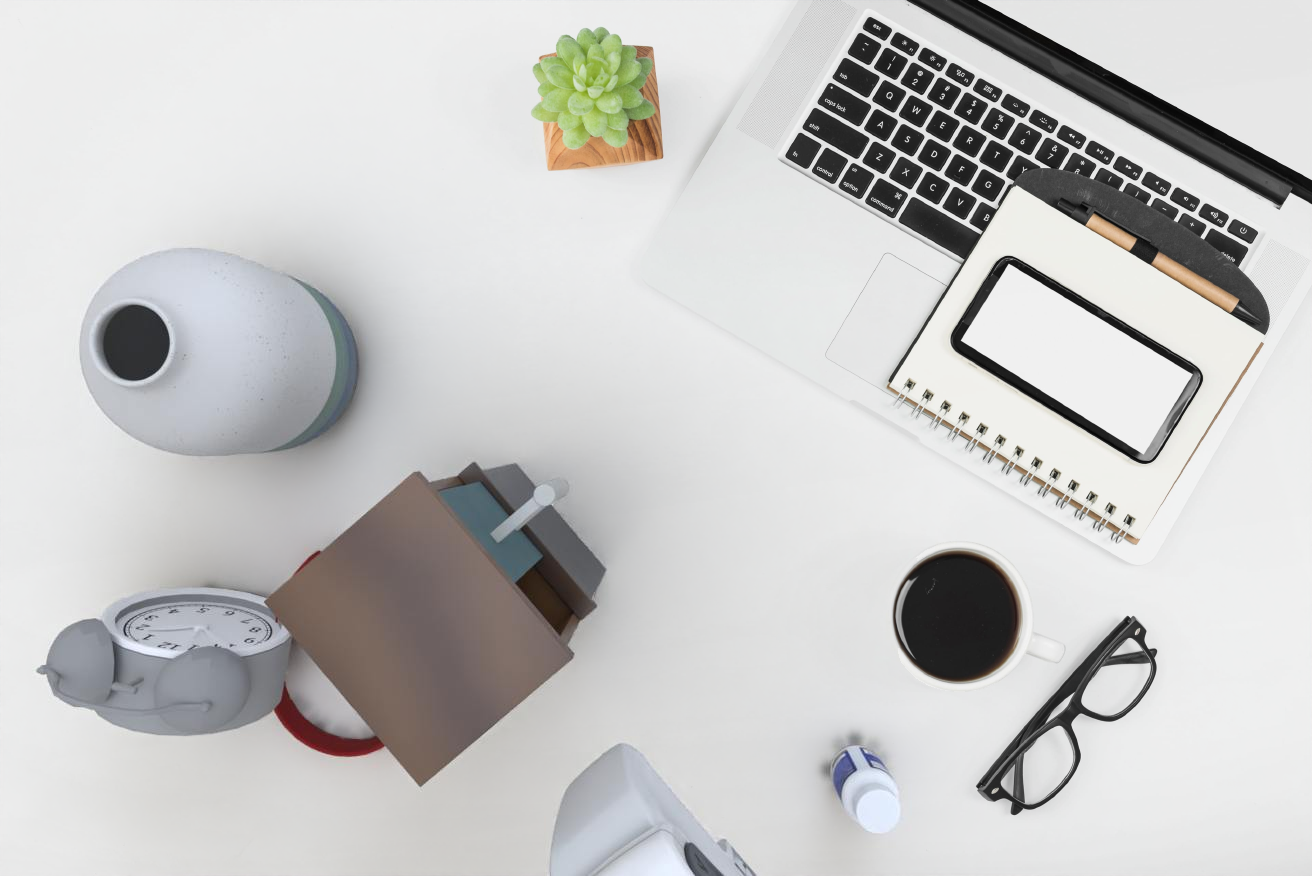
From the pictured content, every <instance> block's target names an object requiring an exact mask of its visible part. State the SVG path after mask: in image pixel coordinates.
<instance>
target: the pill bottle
mask: <svg viewBox="0 0 1312 876" xmlns="http://www.w3.org/2000/svg"><path fill="white" fill-rule="evenodd" d="M829 773H830V778H831V782H832V785H833V787H834V789H835V791H836V794H837V795H838V798H839V800H840V802H841V804H842V807H843V809H844V811H845V812H846V814H847V815H848V817H849V818H850V819H851V820H853V821H854V822H855V823H857V824H859V825H860V826H861V827H862V828H863V829H864V830H865V831H867V832H869V833H872V834H875V835H882V834H886V833H889V832H891V831H892V830H894V829H895V828H896V826H898V824H899V822H900V819H901V814H902V808H901V805H900V797H901V796H900V791H899V787H898V785H897V783H896V781H895V780H894V778H893V776H892V775H891V773H890V772H889V770H888V768H887V767H886V765H885V763H884V762H883V760H882V759H881V758H880V756H879V755H878V754H877V752H875V751H874V750H873V749H871V748H869V747H867V746H865V745H859V744H858V745H855V744H853V745H849V746H846V747H844V748H842V749H841V750H840V751H838V752H837V753H836V755H835V756H834V757H833V759H832V761H831V764H830V770H829Z"/></svg>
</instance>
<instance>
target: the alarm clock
mask: <svg viewBox="0 0 1312 876" xmlns="http://www.w3.org/2000/svg"><path fill="white" fill-rule="evenodd" d="M267 598H268V597H264V596H261V595H257V594H254V593H250V592H246V591H241V590H235V589H230V588H229V589H228V588H219V587H207V586H206V587H205V586H194V587H193V586H186V587H184V586H180V587H170V588H169V587H168V588H158V589H153V590H146V591H142V592H141V591H140V592H138V593H134V594H131V595H128V596H125V597H122V598H120V599H118V600H116V601H115V602H112V603H111V604H109V605H108V606H106V608H105V609H104V610H103V612H102V613H101V614H100V619H98V618H96V617H94V618H86V619H81V620H79V621H76V622H74V623H71V624H69V625H68V626H66V627H65V628H64V629H62V630H61V631H60V632H59V633H58V634H57V636H56V637H55V638H54V640H53V642H52V644H51V645H50V648H49V650H48V653H47V656H46V662H45V664H41V665H40V666H39V667H37V668H36V670H35V672H36V673H37V674H39V675H41V676H43V675H46V679H47V682H48V684H49V686H50V690H51V692H52V695H53V696H54V697H55V698H58V699H59V700H60V701H62V702H63V703H65V704H67V705H68V706H69V705H70V706H71V707H73V708H84V709H87V710H92V711H94V712H95V713H96V715H97V716H98V717H100V718H101V719H103V720H104V721H106V722H108V723H110V724H111V725H113V726H117V727H119V728H122V729H125V730H129V731H131V732H136V733H143V734H149V735H155V736H174V737H192V736H203V735H213V734H218V733H222V732H227V731H231V730H232V731H233V730H236V729H240V728H243V727H245V726H247V725H251V724H254V723H256V722H258V721H260V720H262V719H263V718H265V717H267V716H268V715H269V714H271V713H272V712H274V709H275V707H276V706H277V705H278V704H279V703H280V701H281V698H282V693H283V687H284V681H285V682H286V675H287V669H288V664H289V657H290V651H291V646H292V640H293V636H292V635H291V634H290V633H289V632H288V630H287V629H286V628H285V627H284V626H283V624H282V623H281V622H280V621H279V620H278V621H277V623H275V619H276V616H275V615H274V614H273V613H272V611H271V610H270V609H269V608H268V607H267V606H266V604H265V603H264V601H265V600H266V599H267Z"/></svg>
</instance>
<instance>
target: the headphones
mask: <svg viewBox="0 0 1312 876" xmlns="http://www.w3.org/2000/svg"><path fill="white" fill-rule="evenodd" d="M322 551H323V550H316V551H315V552H313V553H312V554H310V556H309V557H307V558H306V560H305V561H304V562H303V563H302V564H301V565H300V566H298V568H297V569H296V571H295V572H294V573H293V575H292V576H291V578H292V577H293V576H294V575H295V574H296V573H297V572H298V571H300V570H301V569H302V568H303V567H304V566H305V565H307V564H308V563H309V562H310V561H311V560H312V559H314V558H315V557H316V556H317V555H318V554H319V553H321V552H322ZM277 621H278V619H277V617H276V619H275V623H277ZM273 712H274V713H275V716H276V718H277V719H278V720H279V722H280V723H281V724H282V726H283V728H284V729H286V730H287V732H288V733H290V734H291V735H292V736H293V738H294V739H296V740H297V741H299V742H300V743H301V744H303V745H304V746H306V747H308V748H310V749H312V750H314V751H316V752H318V753H322V754H325V755H328V756H332V757H339V758H354V757H356V758H357V757H362V756H367V755H369V754H372V753H375V752H377V751H380V750H382V749H383V748H386V746H385V745H384V744H383V743H382V742H381V741H380V739H379V738H378V737H377V736H376V735H375V736H373V737H369V738H362V739H361V738H359V739H358V738H346V737H345V738H344V737H340V736H338V735H334V734H331V733H328V732H326V731H324V730H322V729H320V728H318V727H317V726H315V724H313V723H312V722H311V721H310V720H308V719H307V718H306V717H305V716H304V715H303V714H302V713H301V712H300V710H299V709H298V707H297V706H296V704H295V703H294V701H293V699H292V698H291V696H290V693H289V690H288V688H287V683H286V680H285V681H284V687H283V693H282V698H281V701H280V703H279V704H278V705H277V706H276V707H275V709H274V710H273Z"/></svg>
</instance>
